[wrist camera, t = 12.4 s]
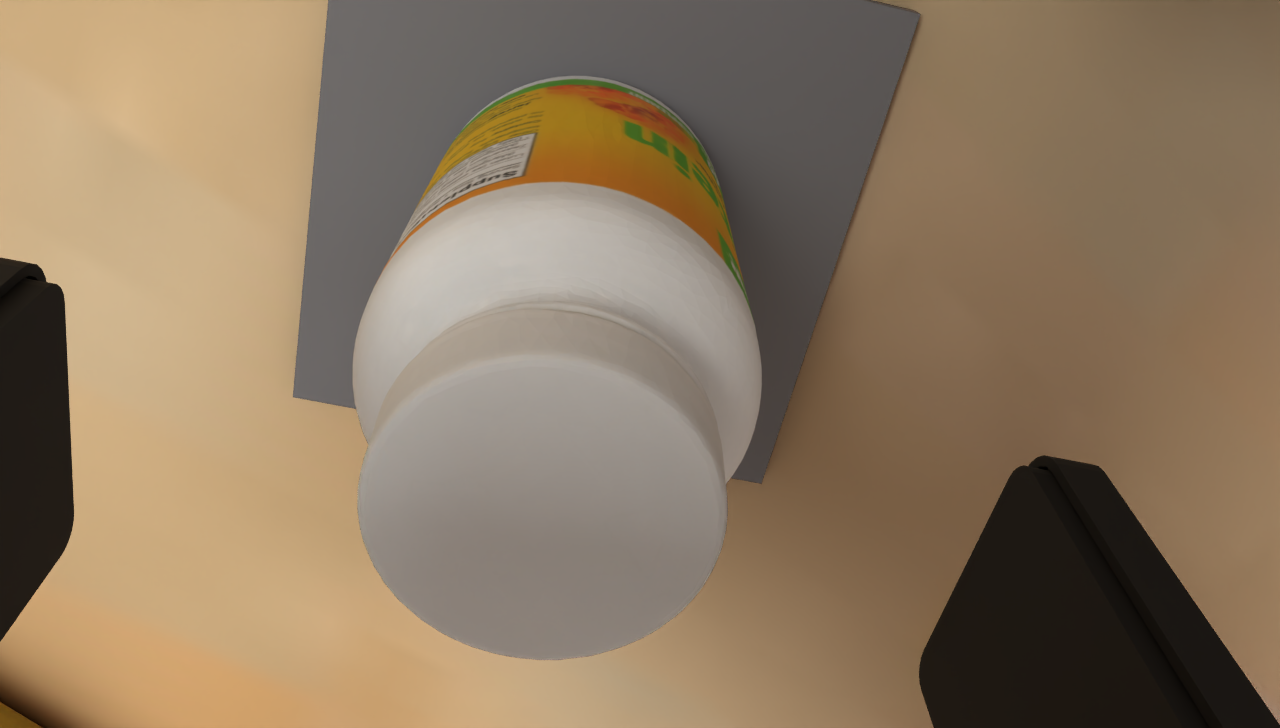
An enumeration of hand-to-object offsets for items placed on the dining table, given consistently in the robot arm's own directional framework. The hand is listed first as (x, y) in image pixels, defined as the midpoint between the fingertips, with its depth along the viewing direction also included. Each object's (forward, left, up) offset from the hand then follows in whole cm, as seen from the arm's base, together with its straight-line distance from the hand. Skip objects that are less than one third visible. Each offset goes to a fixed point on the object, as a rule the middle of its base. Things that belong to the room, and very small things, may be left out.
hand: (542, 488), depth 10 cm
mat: (+1, 0, -11) cm, 11 cm away
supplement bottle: (+1, 0, -10) cm, 10 cm away
